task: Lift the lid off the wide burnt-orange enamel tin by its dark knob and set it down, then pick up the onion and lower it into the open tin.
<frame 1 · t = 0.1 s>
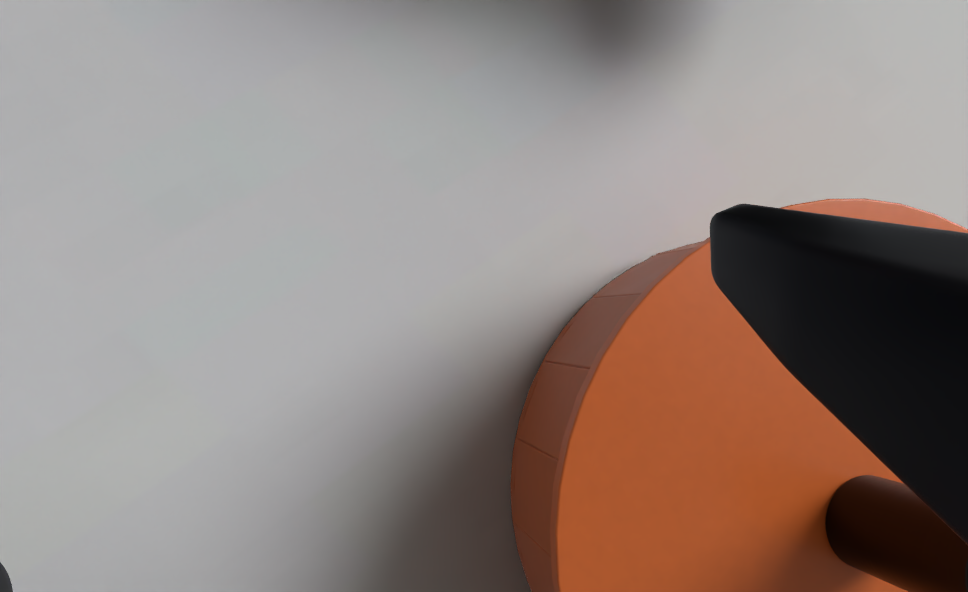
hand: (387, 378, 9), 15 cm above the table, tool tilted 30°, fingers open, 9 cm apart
lid: (851, 516, 21), point 5 cm above the table, touching tin
tin: (740, 477, 27), on the table
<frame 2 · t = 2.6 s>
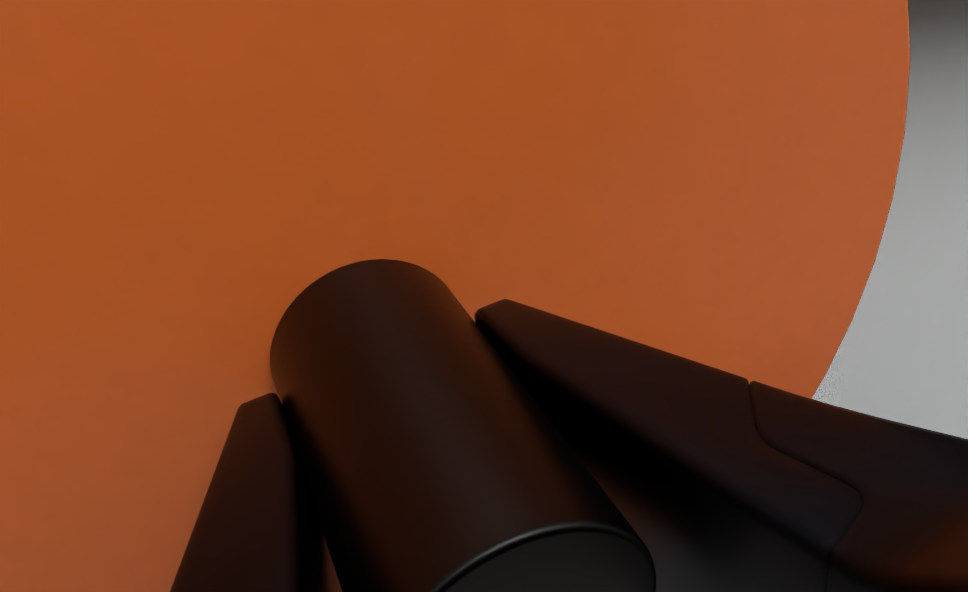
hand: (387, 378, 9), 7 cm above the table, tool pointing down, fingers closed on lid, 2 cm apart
lid: (358, 325, 10), point 5 cm above the table, touching gripper, tin
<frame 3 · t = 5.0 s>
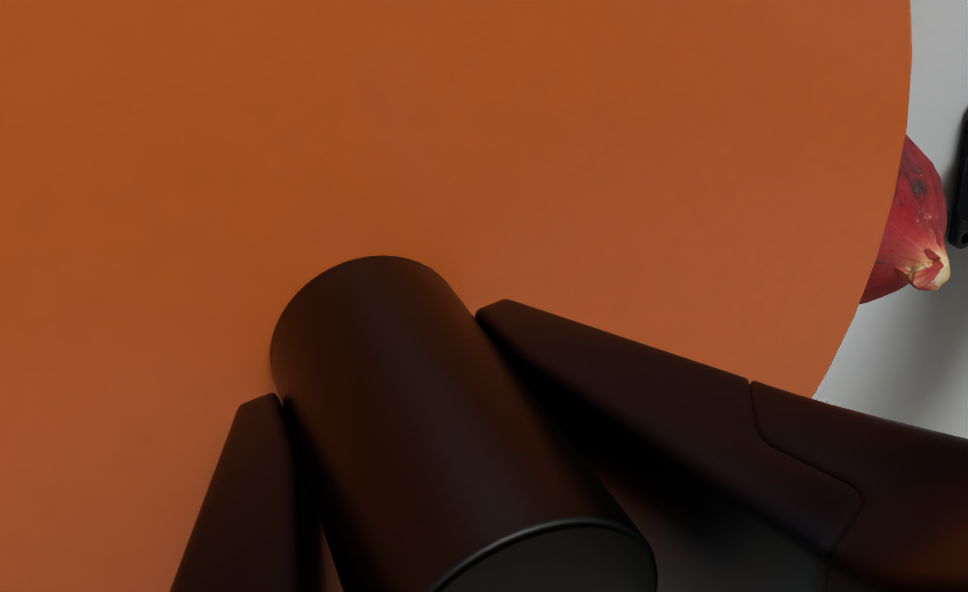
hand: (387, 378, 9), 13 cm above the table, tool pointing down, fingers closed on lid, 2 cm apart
lid: (358, 321, 10), point 12 cm above the table, touching gripper
onion: (745, 165, 27), on the table
when the fingers open (2 cm above the table, at t = 7.5 s): lid stays where it is, point 1 cm above the table.
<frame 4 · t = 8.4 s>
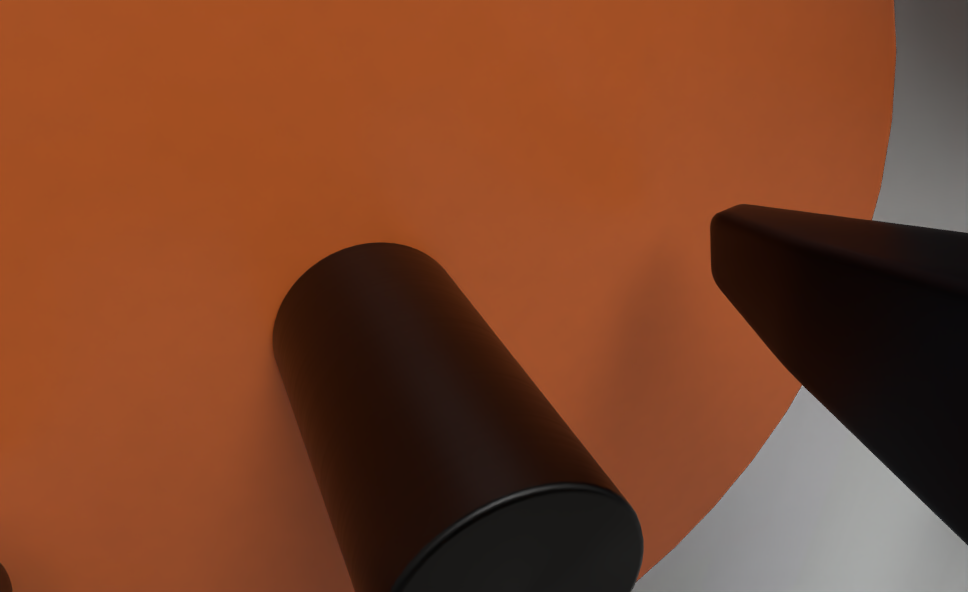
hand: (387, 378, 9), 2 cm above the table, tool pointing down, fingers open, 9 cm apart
lid: (358, 307, 10), point 1 cm above the table
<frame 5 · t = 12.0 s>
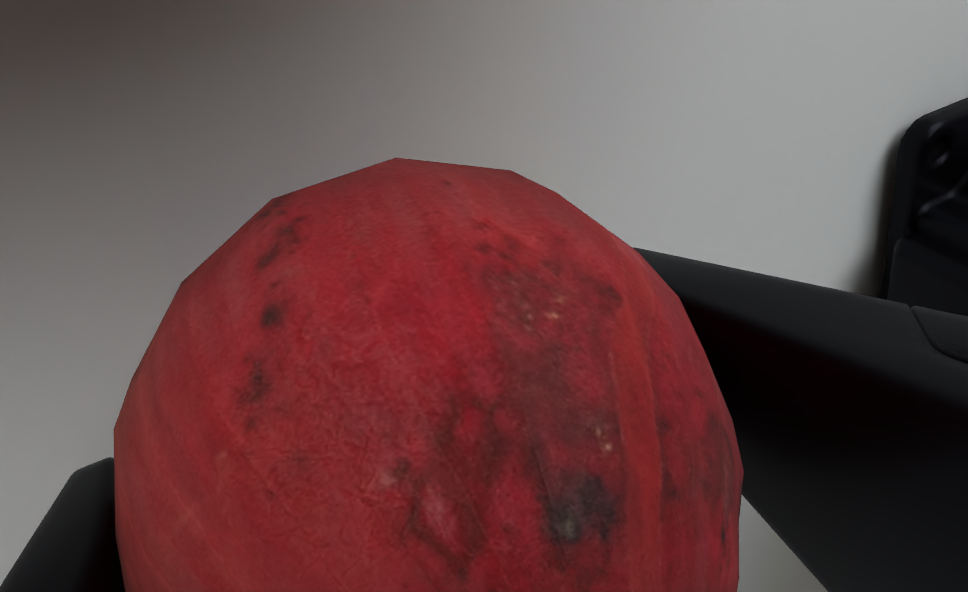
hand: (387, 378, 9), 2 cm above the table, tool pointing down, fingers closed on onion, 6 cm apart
onion: (335, 283, 11), on the table, touching gripper
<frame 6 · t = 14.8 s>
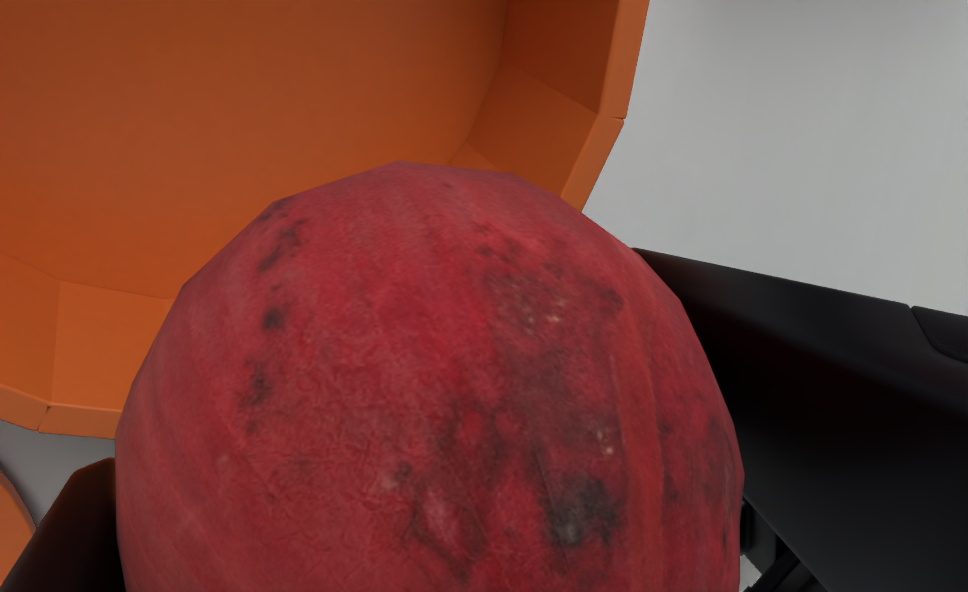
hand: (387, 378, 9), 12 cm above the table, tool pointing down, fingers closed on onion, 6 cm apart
onion: (336, 285, 11), point 10 cm above the table, touching gripper
when the fingers open (3 cm above the table, at t = 17.6 s): onion stays where it is, resting on tin.
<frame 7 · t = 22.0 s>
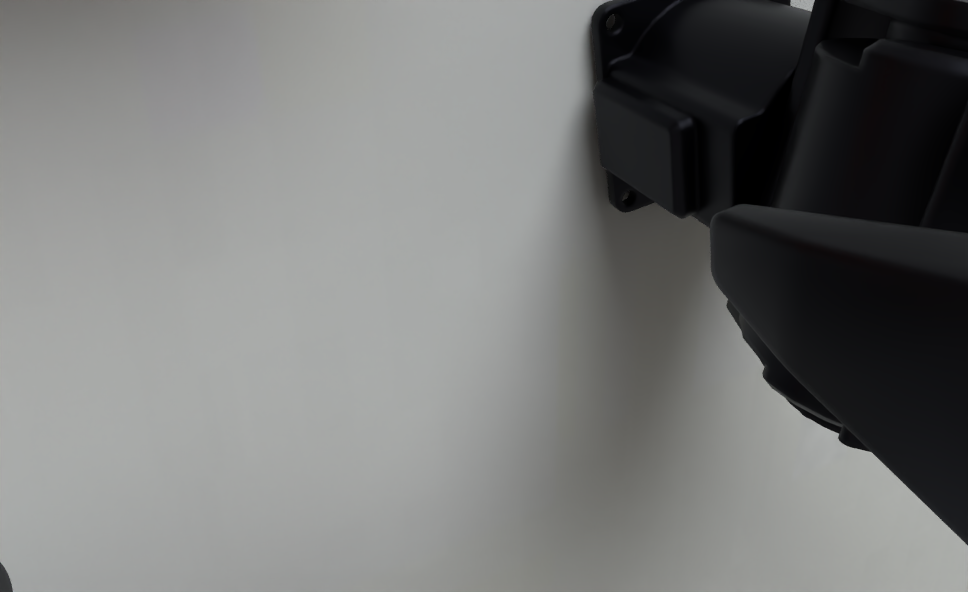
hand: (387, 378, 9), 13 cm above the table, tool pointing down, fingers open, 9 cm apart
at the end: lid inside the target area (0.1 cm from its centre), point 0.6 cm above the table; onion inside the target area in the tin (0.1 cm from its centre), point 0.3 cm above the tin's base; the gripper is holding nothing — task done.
